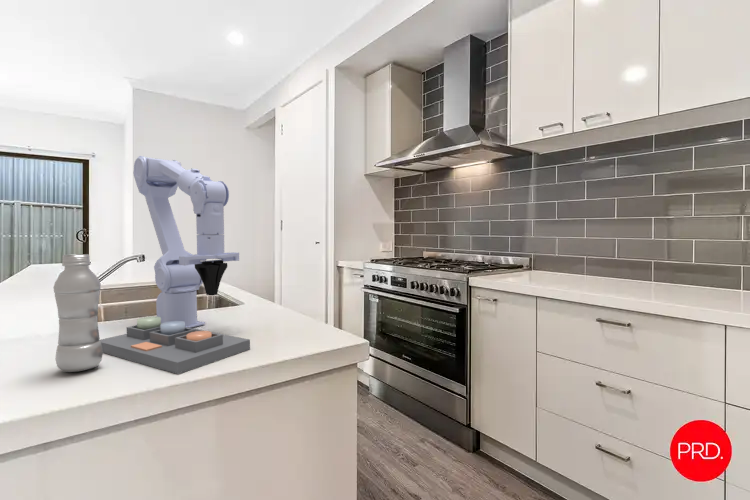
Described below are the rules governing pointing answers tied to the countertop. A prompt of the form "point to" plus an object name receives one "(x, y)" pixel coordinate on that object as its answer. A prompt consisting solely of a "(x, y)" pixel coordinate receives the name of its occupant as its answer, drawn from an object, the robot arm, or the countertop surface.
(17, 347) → the countertop surface
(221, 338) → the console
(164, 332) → the button slate
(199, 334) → the button terracotta
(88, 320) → the plastic bottle
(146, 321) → the button sage
